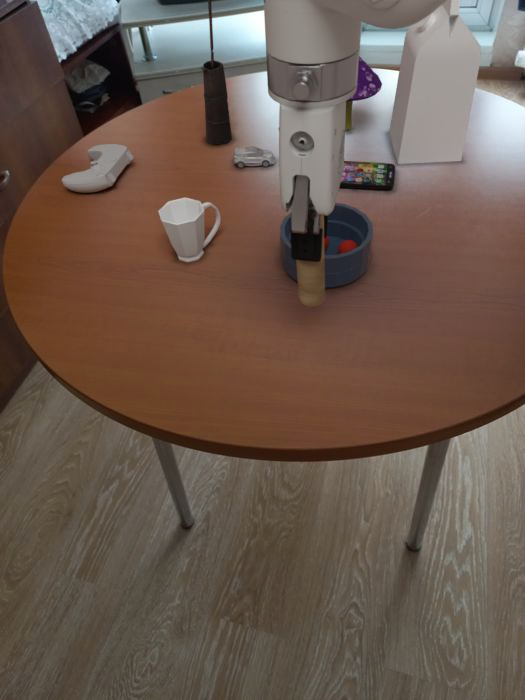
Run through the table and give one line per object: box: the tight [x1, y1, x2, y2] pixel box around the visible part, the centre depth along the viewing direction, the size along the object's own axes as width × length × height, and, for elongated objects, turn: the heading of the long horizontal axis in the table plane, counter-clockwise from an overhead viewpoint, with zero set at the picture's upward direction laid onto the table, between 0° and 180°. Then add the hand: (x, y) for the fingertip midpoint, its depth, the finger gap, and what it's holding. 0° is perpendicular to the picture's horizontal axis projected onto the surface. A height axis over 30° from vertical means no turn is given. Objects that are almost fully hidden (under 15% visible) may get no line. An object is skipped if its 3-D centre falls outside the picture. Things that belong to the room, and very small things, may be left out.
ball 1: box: [324, 236, 329, 249], centre depth 79 cm, size 3×3×3 cm
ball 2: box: [338, 240, 358, 254], centre depth 77 cm, size 3×3×3 cm
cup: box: [157, 197, 222, 263], centre depth 80 cm, size 7×10×8 cm
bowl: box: [279, 202, 375, 289], centre depth 77 cm, size 13×13×6 cm
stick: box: [296, 200, 326, 307], centre depth 57 cm, size 3×3×13 cm
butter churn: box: [200, 0, 233, 146], centre depth 95 cm, size 9×10×28 cm
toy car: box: [233, 145, 276, 169], centre depth 98 cm, size 4×8×3 cm, turn 88°
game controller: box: [61, 143, 135, 194], centre depth 98 cm, size 14×4×10 cm
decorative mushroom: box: [345, 55, 383, 132], centre depth 100 cm, size 12×12×15 cm
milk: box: [388, 0, 482, 165], centre depth 90 cm, size 12×12×26 cm
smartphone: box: [339, 160, 396, 191], centre depth 93 cm, size 8×1×15 cm
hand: (309, 246), depth 57 cm, fingers closed on stick, 3 cm apart
